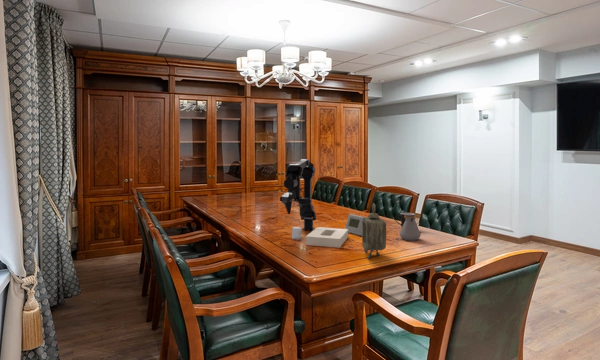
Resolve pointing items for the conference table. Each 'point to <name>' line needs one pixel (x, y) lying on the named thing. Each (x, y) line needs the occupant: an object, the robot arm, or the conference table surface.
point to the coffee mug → (403, 217)
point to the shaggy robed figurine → (373, 233)
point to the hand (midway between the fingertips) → (295, 215)
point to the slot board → (327, 237)
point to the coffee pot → (410, 229)
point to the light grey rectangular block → (296, 232)
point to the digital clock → (354, 224)
